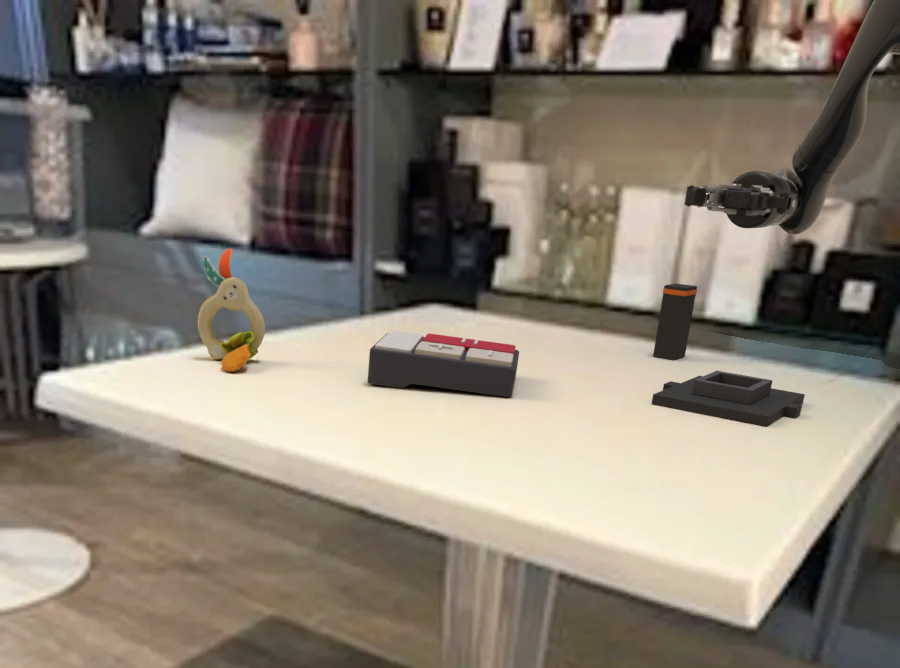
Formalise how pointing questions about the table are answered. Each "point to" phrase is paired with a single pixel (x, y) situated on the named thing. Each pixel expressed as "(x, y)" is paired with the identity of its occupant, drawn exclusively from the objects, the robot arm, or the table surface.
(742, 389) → the base pad
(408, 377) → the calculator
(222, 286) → the rattle
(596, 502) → the table surface
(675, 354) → the dark grey block
